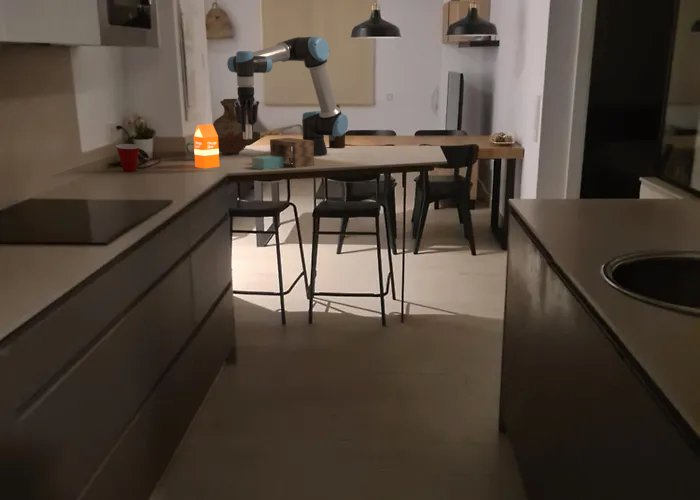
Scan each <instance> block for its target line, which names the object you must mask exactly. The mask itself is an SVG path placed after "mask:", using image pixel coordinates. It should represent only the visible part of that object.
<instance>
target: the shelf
mask: <svg viewBox="0 0 700 500" xmlns="http://www.w3.org/2000/svg"><path fill="white" fill-rule="evenodd" d="M269 145H270V147H269V152H270V154H269V155H274V156H281V157H284V162H287V163H288V164H289V163H293V164H292V168H294V167H297V168H303V166H305V167H312V165H313V166H315V155H314V141H312V140H304V139H303V138H295V137H284V138H271V139H269Z"/></svg>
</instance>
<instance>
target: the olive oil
mask: <svg viewBox="0 0 700 500" xmlns="http://www.w3.org/2000/svg"><path fill="white" fill-rule="evenodd" d="M336 106H337V107H338V108H340V104H336ZM340 109H341V108H340ZM341 114H343V113H342V112H341ZM328 146H329V148H330V149H343V148H345V147H346V132H345V133H344V134H343V135H342V136H328Z"/></svg>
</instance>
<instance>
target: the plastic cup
mask: <svg viewBox="0 0 700 500" xmlns="http://www.w3.org/2000/svg"><path fill="white" fill-rule="evenodd" d="M115 147H116V150H117V153H118V157H119V160H120V164H121V169H122V172H123V173H133V172H134V173H135V172H136V171H137V169H138V168H137V167H138V159H139V158H138V157H139V152H140V151H139V150H140V148H141V145H138V144H136V143H135V144H132V143H120V144H116V145H115Z"/></svg>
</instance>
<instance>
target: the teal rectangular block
mask: <svg viewBox="0 0 700 500" xmlns="http://www.w3.org/2000/svg"><path fill="white" fill-rule="evenodd" d="M284 165H285V163H284V157H281V156H274V155H270V154H269V155H263V156H260V155H259V156H253V157H251V168H252V169H256V168H259V169H258V170H262V169H267V170H272V169H271V168H275V169H278V168H277V167H282V168H284V167H285V166H284Z"/></svg>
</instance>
